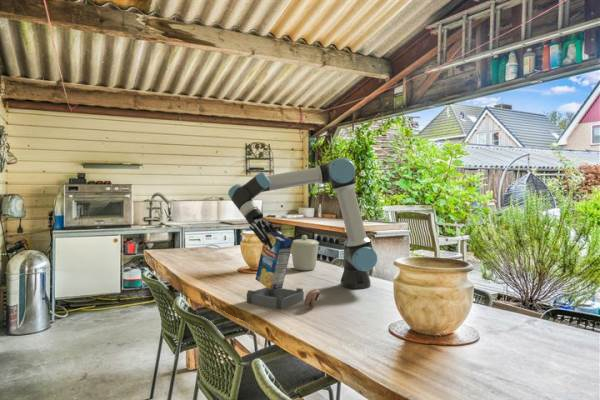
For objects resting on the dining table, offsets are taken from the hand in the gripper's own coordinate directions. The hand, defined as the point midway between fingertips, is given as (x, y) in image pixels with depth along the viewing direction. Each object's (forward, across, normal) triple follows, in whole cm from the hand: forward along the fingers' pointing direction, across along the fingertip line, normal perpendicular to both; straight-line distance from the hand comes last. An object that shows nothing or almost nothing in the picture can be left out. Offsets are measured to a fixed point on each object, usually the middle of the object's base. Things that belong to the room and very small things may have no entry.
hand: (281, 252), depth 176 cm
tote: (+13, 0, -18) cm, 22 cm away
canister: (-8, -69, -38) cm, 79 cm away
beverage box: (+5, 0, -15) cm, 16 cm away
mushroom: (+26, 0, -4) cm, 27 cm away
